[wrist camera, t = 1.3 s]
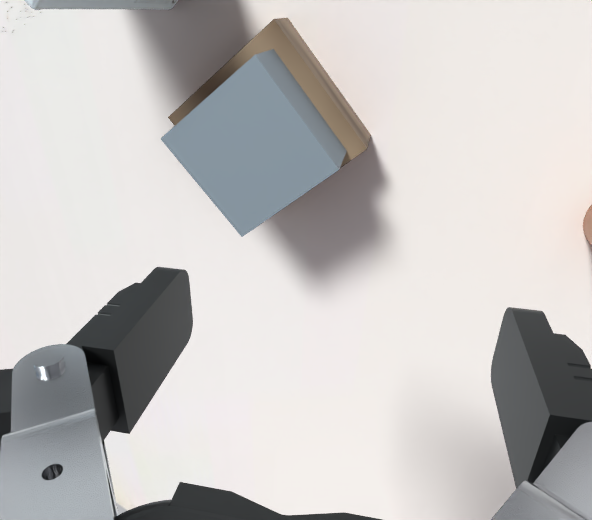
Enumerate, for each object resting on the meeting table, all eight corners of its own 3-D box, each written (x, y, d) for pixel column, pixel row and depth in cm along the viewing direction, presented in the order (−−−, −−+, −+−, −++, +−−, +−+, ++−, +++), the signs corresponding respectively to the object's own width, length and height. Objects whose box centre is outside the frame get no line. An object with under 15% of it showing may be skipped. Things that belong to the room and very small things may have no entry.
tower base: (288, 17, 34) (273, 19, 30) (371, 133, 37) (367, 148, 33) (192, 106, 39) (168, 117, 35) (271, 205, 41) (257, 226, 37)
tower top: (273, 48, 31) (254, 54, 27) (346, 150, 33) (339, 169, 29) (188, 123, 35) (160, 138, 31) (259, 212, 37) (241, 236, 33)
